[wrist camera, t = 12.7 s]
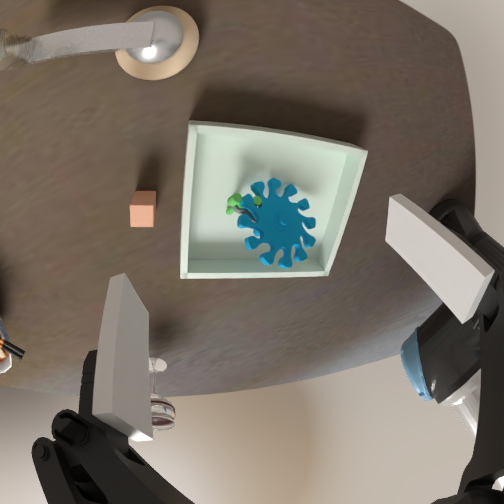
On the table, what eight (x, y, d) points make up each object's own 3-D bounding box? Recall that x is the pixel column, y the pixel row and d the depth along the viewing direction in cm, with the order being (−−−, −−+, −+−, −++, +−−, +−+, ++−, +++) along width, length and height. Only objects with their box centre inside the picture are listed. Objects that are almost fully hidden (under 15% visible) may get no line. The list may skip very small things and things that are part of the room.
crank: (186, 18, 19) (190, -29, 9) (178, 65, 21) (174, 49, 11) (20, 38, 14) (-55, 34, 4) (14, 82, 16) (-63, 98, 6)
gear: (327, 207, 33) (307, 283, 30) (297, 219, 39) (275, 287, 35) (254, 153, 29) (218, 231, 26) (230, 175, 34) (197, 244, 31)
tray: (352, 143, 32) (367, 151, 29) (318, 261, 41) (327, 275, 38) (188, 120, 26) (189, 124, 24) (179, 261, 36) (180, 278, 33)
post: (156, 191, 30) (153, 205, 27) (155, 210, 31) (153, 226, 28) (135, 190, 29) (129, 205, 26) (135, 210, 31) (130, 226, 27)
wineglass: (128, 360, 44) (126, 419, 35) (159, 350, 45) (162, 412, 35) (148, 377, 49) (150, 432, 39) (178, 369, 49) (184, 426, 39)
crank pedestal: (203, 12, 20) (205, 7, 18) (191, 81, 24) (192, 81, 23) (126, 11, 18) (122, 7, 16) (115, 81, 22) (110, 81, 20)
